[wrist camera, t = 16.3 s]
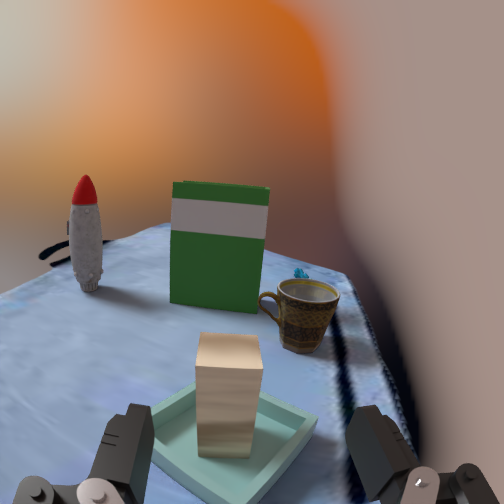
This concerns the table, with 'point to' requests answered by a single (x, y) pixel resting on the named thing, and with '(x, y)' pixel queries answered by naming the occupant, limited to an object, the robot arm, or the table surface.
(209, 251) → the hardback book
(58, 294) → the table surface
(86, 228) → the toy rocket
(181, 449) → the tray
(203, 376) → the birch block
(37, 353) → the table surface
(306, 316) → the ceramic cup
